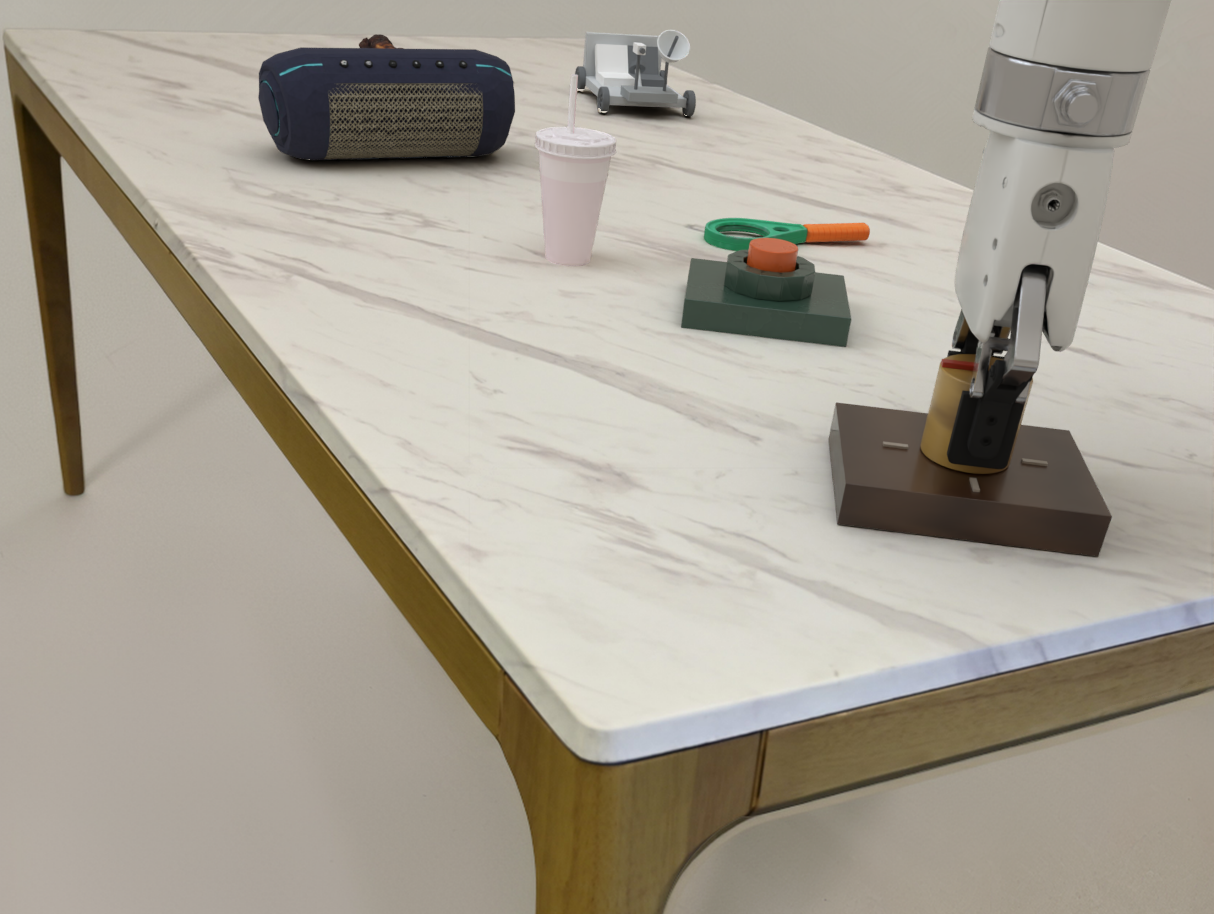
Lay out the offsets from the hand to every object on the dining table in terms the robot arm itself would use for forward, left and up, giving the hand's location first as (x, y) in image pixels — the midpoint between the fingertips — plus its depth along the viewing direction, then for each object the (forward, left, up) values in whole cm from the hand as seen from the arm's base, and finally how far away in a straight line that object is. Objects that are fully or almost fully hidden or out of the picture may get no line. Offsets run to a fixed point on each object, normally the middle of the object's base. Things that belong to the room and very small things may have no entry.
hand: (968, 438), depth 71 cm
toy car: (+27, -99, -4) cm, 103 cm away
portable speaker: (+48, -61, -4) cm, 78 cm away
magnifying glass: (+9, -47, -4) cm, 48 cm away
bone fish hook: (+54, -101, -4) cm, 115 cm away
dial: (0, 0, -1) cm, 1 cm away
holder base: (0, 0, -4) cm, 4 cm away
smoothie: (+27, -35, -4) cm, 44 cm away
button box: (+11, -27, -4) cm, 29 cm away
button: (+11, -27, 0) cm, 29 cm away
